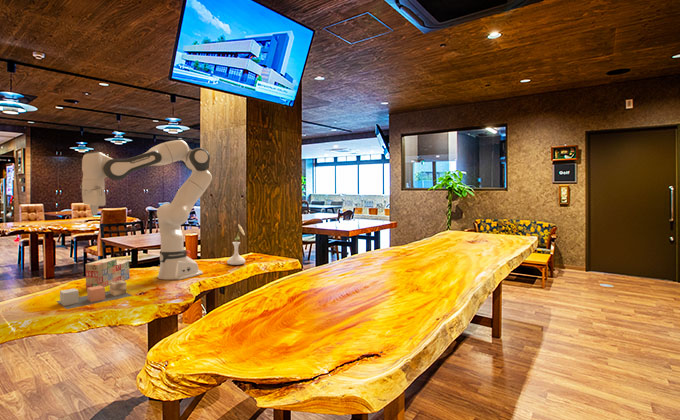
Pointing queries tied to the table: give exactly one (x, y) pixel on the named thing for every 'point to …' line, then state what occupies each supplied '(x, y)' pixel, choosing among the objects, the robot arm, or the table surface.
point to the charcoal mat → (85, 301)
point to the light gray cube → (69, 296)
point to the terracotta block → (95, 293)
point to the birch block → (117, 287)
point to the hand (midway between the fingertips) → (94, 214)
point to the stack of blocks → (106, 272)
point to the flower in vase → (236, 251)
